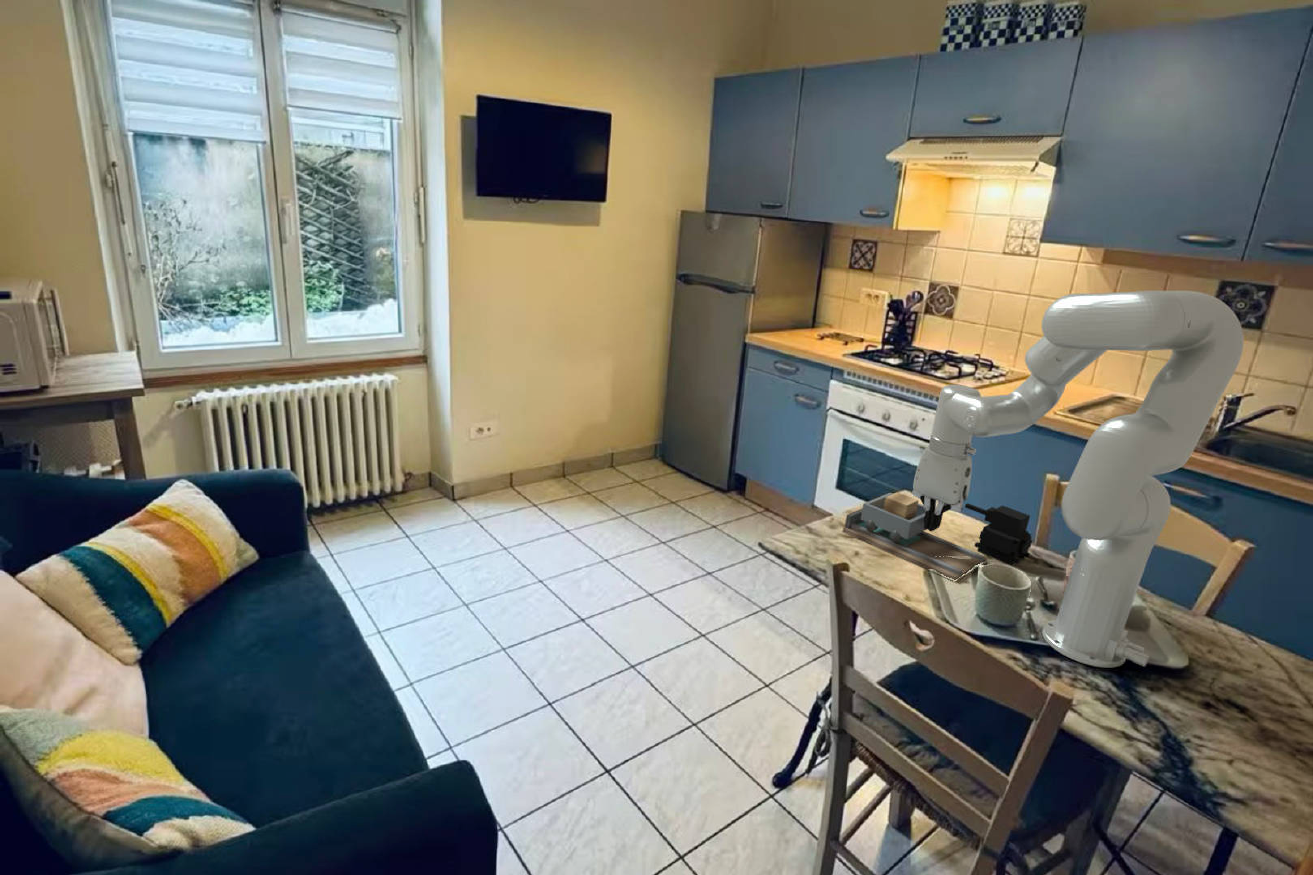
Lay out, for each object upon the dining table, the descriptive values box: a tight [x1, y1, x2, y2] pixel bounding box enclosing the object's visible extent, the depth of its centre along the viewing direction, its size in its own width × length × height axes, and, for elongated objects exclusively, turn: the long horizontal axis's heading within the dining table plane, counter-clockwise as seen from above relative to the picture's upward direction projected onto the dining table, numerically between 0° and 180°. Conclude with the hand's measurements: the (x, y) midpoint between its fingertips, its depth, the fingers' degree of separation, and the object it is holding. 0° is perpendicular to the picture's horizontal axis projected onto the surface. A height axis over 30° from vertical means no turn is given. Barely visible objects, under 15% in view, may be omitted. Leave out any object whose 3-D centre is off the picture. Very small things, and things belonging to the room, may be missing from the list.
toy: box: [964, 502, 1033, 566], centre depth 154 cm, size 8×14×10 cm, turn 41°
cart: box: [861, 492, 926, 542], centre depth 156 cm, size 11×11×6 cm
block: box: [883, 491, 919, 520], centre depth 155 cm, size 5×5×5 cm
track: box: [842, 507, 988, 580], centre depth 153 cm, size 26×14×4 cm, turn 42°
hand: (930, 528), depth 150 cm, fingers closed
